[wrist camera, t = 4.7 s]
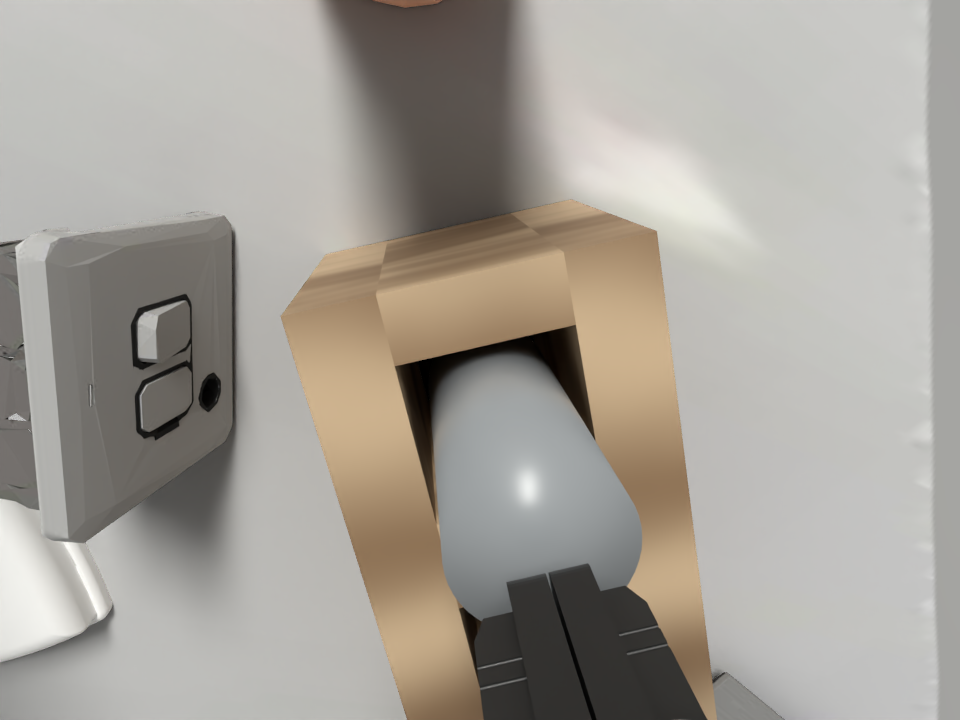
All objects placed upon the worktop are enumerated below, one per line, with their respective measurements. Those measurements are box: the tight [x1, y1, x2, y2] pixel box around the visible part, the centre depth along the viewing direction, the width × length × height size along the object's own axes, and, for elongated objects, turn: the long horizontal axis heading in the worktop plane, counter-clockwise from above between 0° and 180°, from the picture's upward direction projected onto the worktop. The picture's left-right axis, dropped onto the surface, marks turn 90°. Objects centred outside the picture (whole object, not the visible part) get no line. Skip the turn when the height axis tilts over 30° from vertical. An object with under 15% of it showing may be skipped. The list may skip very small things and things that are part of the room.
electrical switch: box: [0, 211, 233, 543], centre depth 23 cm, size 9×5×9 cm, turn 174°
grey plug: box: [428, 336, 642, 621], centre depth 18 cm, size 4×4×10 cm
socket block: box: [281, 200, 717, 720], centre depth 26 cm, size 25×10×10 cm, turn 12°
